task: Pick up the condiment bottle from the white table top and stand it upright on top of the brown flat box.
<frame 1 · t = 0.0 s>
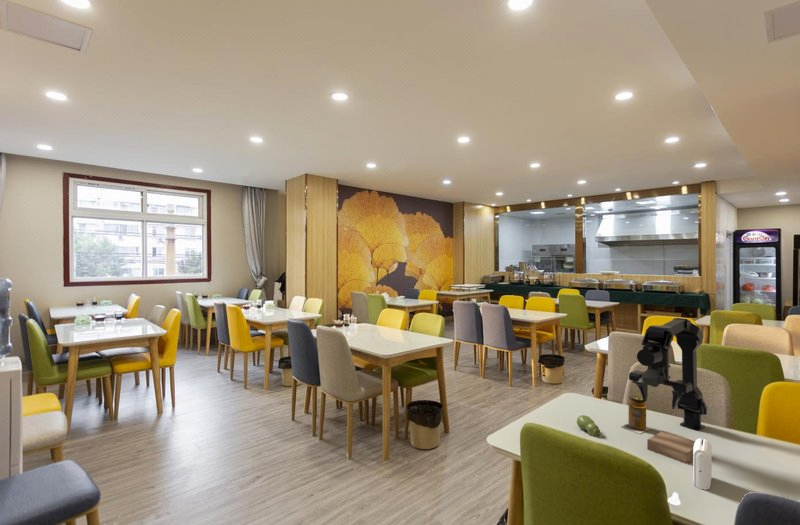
hand: (659, 404, 143), 15 cm above the table, tool pointing down, fingers open, 9 cm apart
condiment: (635, 428, 157), on the table
pear: (588, 432, 155), on the table
photo printer: (702, 482, 120), on the table
brown flat box: (674, 452, 138), on the table
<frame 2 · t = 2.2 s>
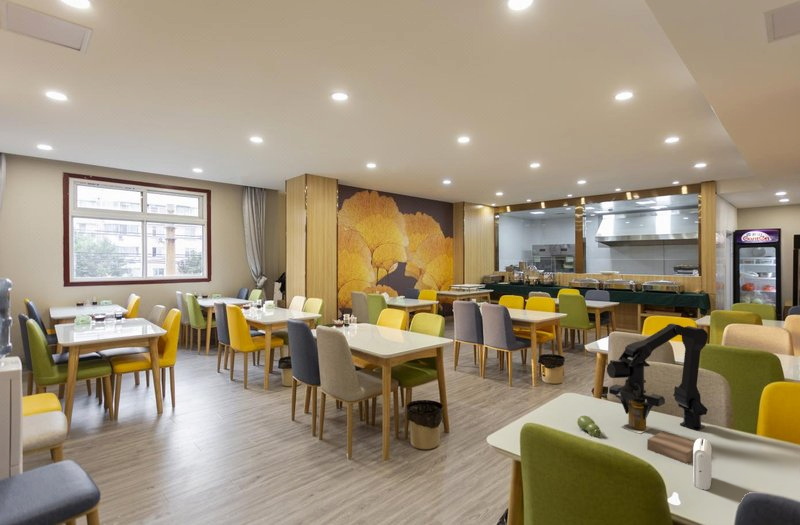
hand: (635, 416, 157), 5 cm above the table, tool pointing down, fingers open, 6 cm apart
condiment: (635, 428, 157), on the table, touching gripper
everything else where it was.
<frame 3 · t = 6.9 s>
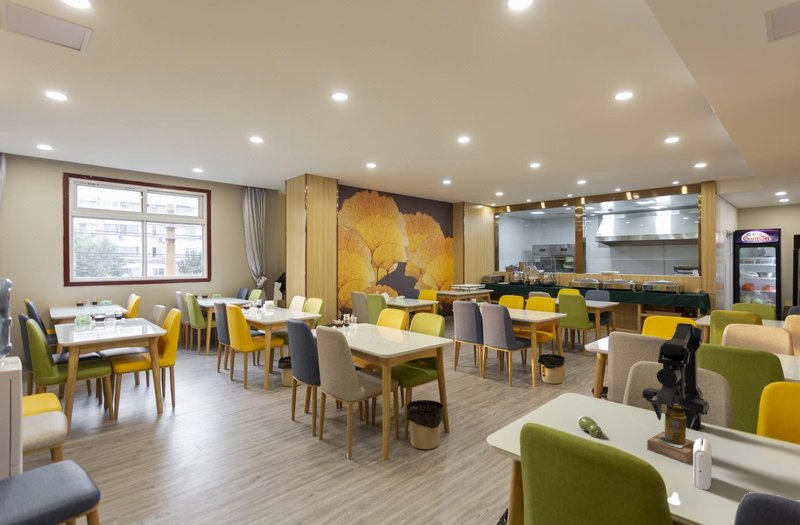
hand: (674, 424, 138), 10 cm above the table, tool pointing down, fingers open, 9 cm apart
condiment: (673, 442, 138), point 3 cm above the table, touching brown flat box
brown flat box: (674, 453, 138), on the table, touching condiment
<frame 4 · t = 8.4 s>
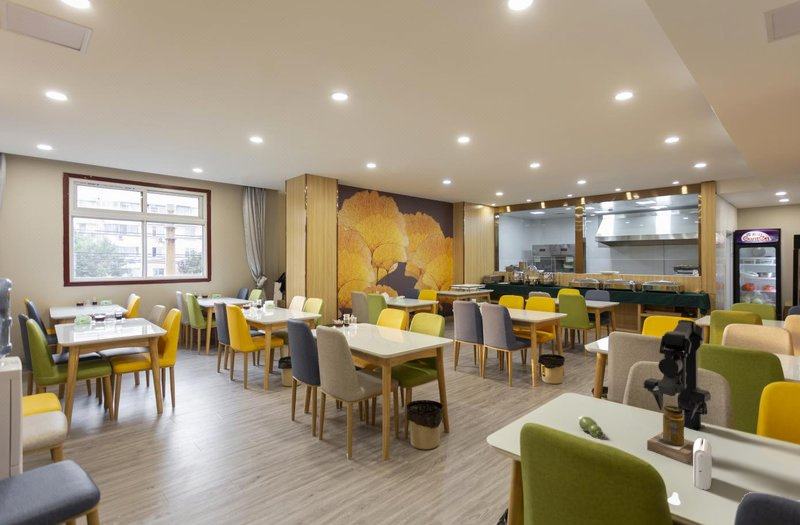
hand: (675, 414, 139), 13 cm above the table, tool pointing down, fingers open, 9 cm apart
condiment: (671, 443, 138), point 3 cm above the table, touching brown flat box
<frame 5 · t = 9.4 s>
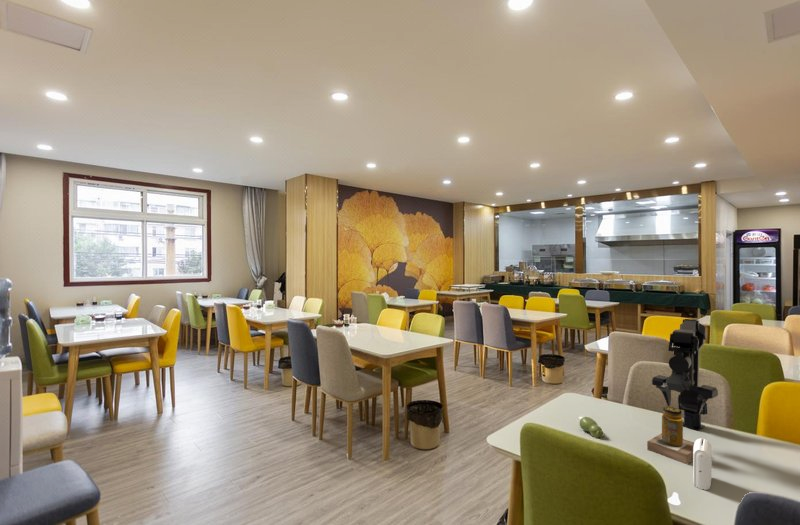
hand: (683, 409, 142), 13 cm above the table, tool pointing down, fingers open, 9 cm apart
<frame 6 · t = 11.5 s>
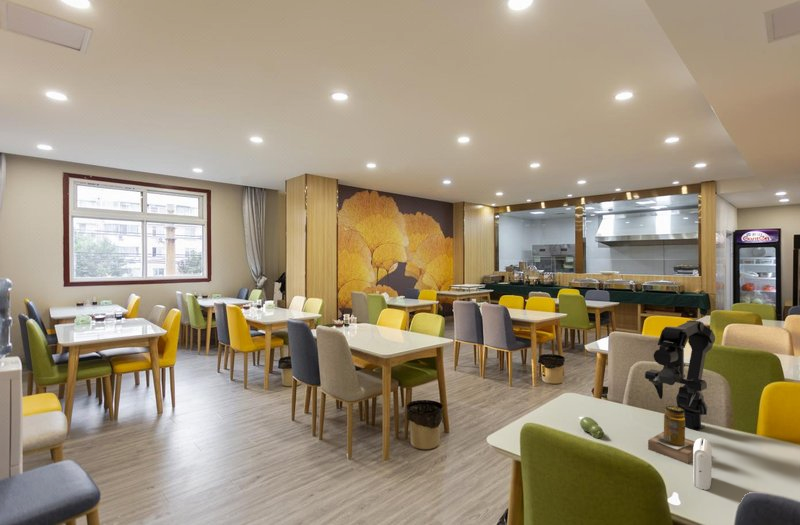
hand: (674, 402, 149), 13 cm above the table, tool pointing down, fingers open, 9 cm apart
at the end: condiment inside the target area on the brown flat box (2.1 cm from its centre), point 3.9 cm above the brown flat box's base; condiment tilted 2°; condiment touching brown flat box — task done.
